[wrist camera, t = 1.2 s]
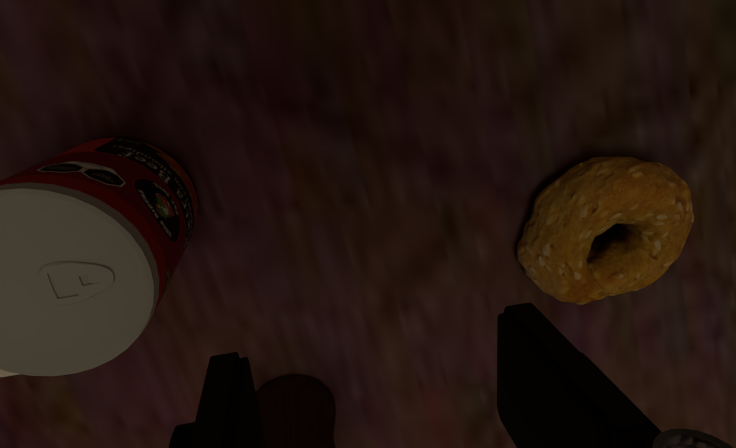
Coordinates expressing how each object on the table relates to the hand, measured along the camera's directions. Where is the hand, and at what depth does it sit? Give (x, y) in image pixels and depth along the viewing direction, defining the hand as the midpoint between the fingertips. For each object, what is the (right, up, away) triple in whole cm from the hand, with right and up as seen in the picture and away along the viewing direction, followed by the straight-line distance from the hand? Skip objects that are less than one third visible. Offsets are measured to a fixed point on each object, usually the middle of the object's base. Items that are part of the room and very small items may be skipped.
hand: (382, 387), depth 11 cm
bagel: (+15, +4, +23) cm, 27 cm away
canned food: (-14, +5, +17) cm, 23 cm away
